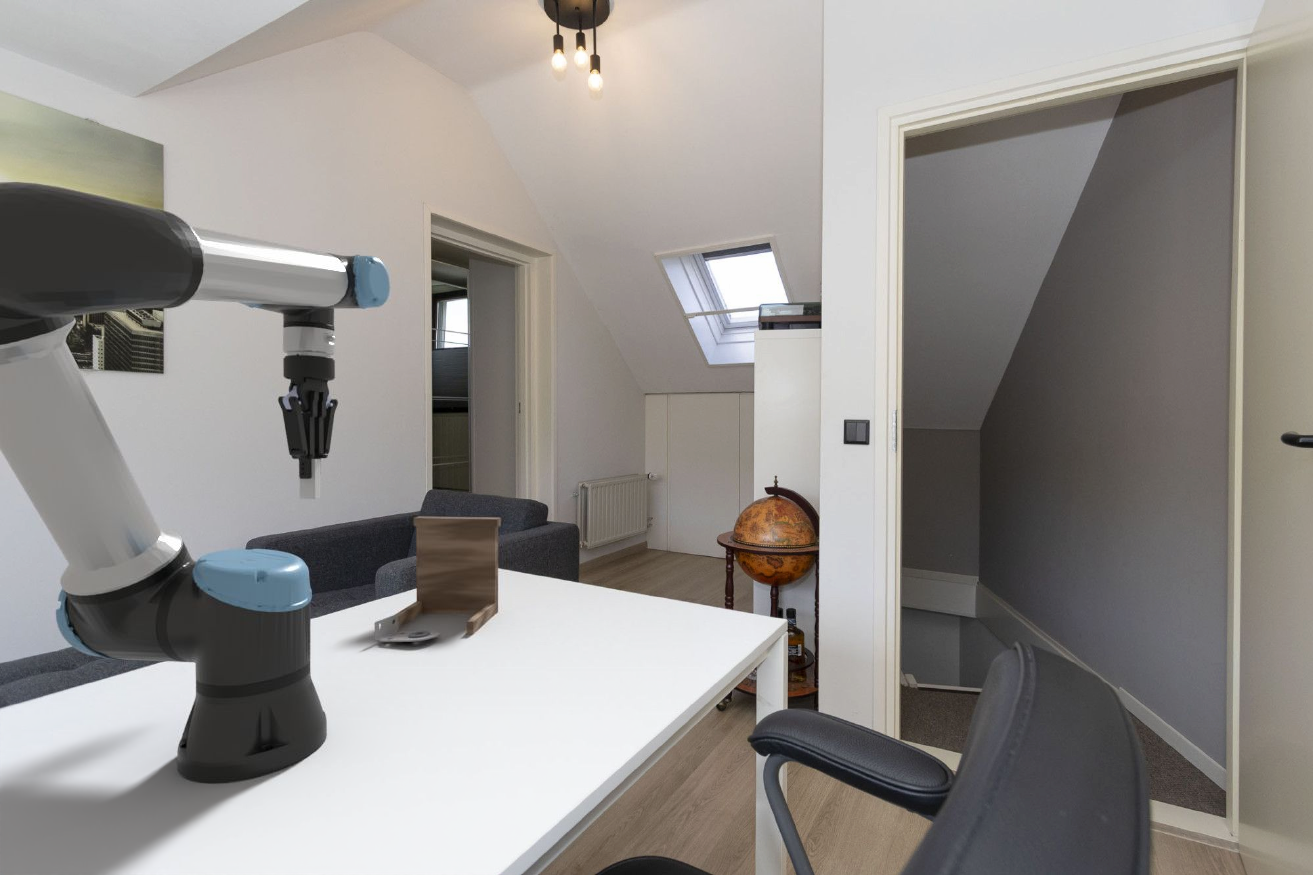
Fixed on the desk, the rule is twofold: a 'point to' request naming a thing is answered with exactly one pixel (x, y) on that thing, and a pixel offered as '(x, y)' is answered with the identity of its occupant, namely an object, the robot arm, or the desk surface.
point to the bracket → (390, 634)
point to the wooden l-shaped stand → (456, 569)
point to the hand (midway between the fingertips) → (310, 497)
